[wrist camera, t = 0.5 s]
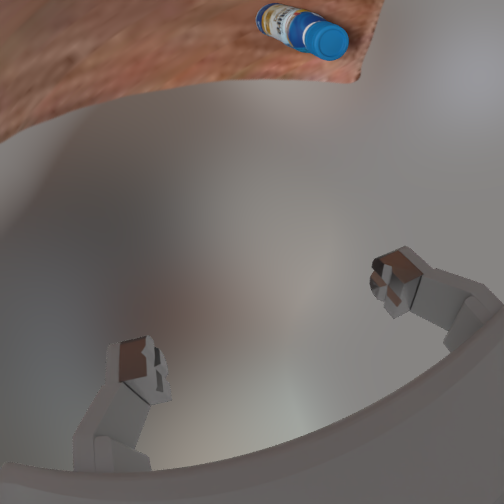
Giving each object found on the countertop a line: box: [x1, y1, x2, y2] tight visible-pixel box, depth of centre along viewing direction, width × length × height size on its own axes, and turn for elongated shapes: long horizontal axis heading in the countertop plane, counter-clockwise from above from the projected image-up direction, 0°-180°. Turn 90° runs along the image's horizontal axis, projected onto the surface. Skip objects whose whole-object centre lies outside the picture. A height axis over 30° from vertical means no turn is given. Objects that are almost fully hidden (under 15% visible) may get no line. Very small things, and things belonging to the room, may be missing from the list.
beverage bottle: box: [256, 3, 349, 61], centre depth 35 cm, size 8×8×20 cm
